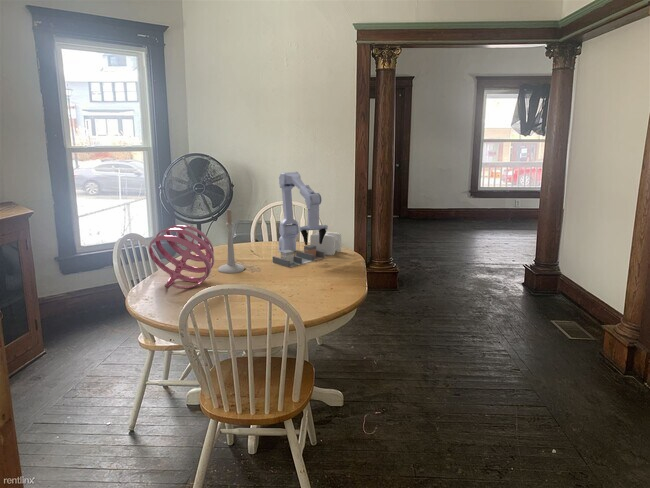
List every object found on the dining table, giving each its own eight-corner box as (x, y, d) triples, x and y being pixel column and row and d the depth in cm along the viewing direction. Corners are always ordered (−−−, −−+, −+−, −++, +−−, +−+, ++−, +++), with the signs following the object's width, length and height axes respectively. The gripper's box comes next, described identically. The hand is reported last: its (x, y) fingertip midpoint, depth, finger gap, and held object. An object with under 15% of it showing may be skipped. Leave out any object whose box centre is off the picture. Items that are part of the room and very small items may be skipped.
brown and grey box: (304, 257, 262) (304, 246, 261) (310, 255, 266) (310, 244, 265) (309, 258, 260) (309, 247, 258) (316, 256, 263) (316, 245, 262)
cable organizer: (308, 254, 273) (308, 233, 270) (317, 250, 282) (317, 229, 279) (333, 257, 266) (333, 236, 263) (342, 253, 275) (342, 232, 272)
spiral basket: (168, 255, 193) (199, 207, 210) (121, 263, 207) (153, 217, 224) (210, 300, 209) (236, 252, 226) (164, 304, 223) (191, 258, 241)
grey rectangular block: (280, 263, 251) (280, 251, 250) (288, 261, 255) (288, 249, 253) (286, 264, 249) (285, 252, 247) (293, 262, 252) (293, 251, 251)
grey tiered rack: (271, 263, 254) (271, 256, 253) (307, 255, 271) (307, 247, 270) (289, 269, 244) (289, 261, 243) (325, 259, 261) (325, 252, 261)
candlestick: (239, 274, 236) (236, 211, 229) (213, 272, 239) (210, 210, 232) (248, 266, 249) (246, 206, 242) (224, 265, 251) (221, 205, 244)
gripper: (301, 219, 244) (301, 247, 247) (329, 218, 249) (329, 244, 252) (297, 217, 251) (297, 243, 254) (325, 215, 255) (325, 241, 258)
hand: (313, 244), depth 253 cm, fingers open, 7 cm apart
